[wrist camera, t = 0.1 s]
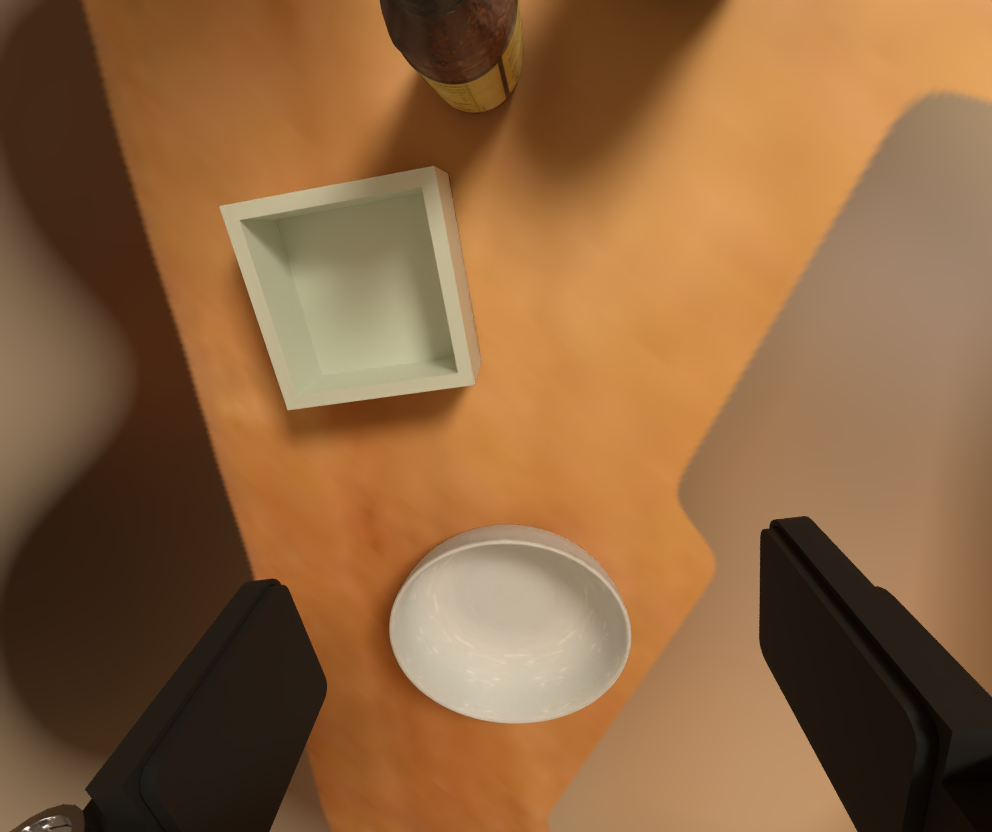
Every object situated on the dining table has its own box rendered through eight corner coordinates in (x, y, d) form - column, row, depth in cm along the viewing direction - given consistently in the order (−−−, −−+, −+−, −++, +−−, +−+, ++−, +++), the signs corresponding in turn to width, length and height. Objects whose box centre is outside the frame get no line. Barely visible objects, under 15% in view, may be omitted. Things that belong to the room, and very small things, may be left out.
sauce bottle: (478, -21, 31) (408, -369, 13) (543, 65, 32) (567, -133, 14) (407, 65, 33) (256, -126, 14) (472, 143, 34) (410, 58, 16)
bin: (264, 207, 37) (219, 206, 31) (448, 173, 35) (434, 165, 30) (318, 385, 42) (287, 410, 36) (481, 362, 40) (474, 384, 35)
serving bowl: (382, 629, 52) (361, 687, 45) (444, 464, 44) (430, 505, 38) (565, 688, 53) (571, 752, 47) (656, 539, 46) (678, 592, 39)
